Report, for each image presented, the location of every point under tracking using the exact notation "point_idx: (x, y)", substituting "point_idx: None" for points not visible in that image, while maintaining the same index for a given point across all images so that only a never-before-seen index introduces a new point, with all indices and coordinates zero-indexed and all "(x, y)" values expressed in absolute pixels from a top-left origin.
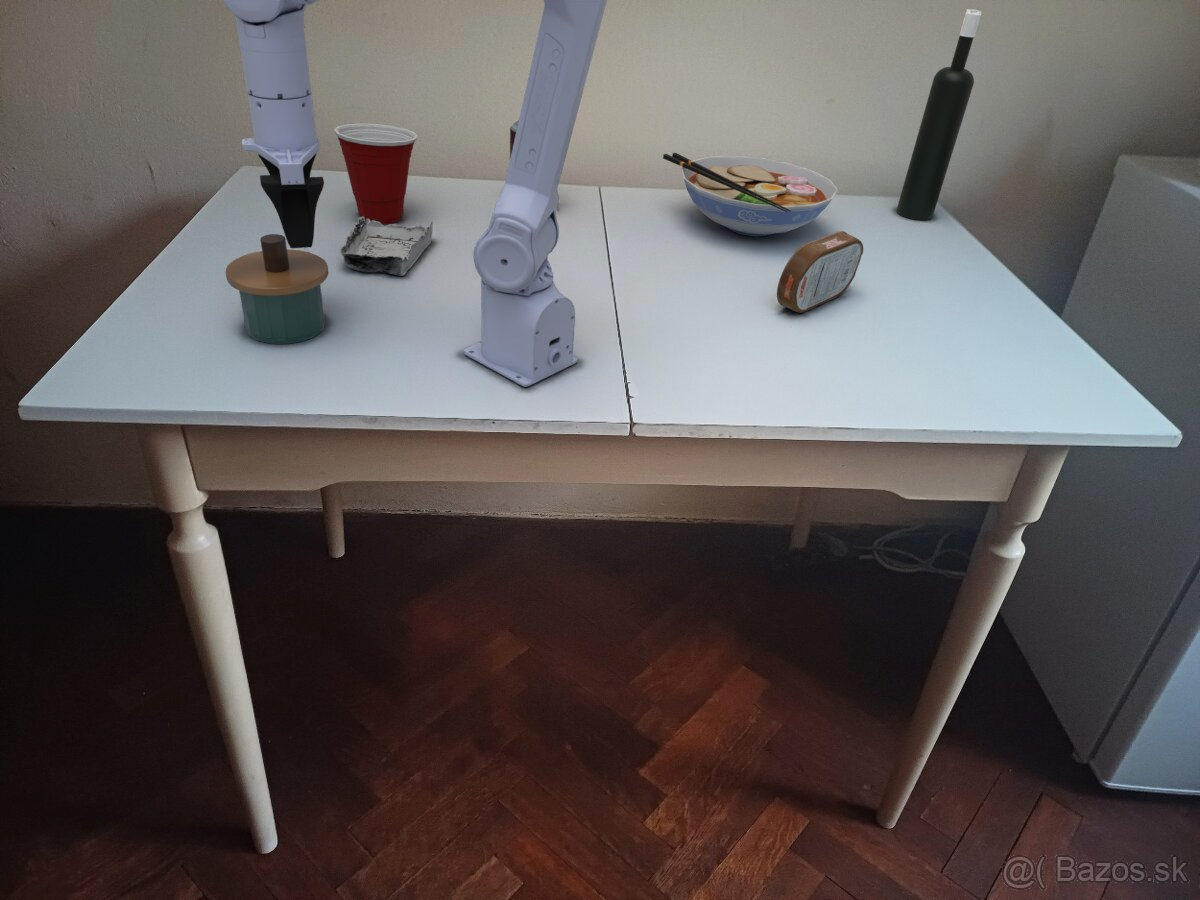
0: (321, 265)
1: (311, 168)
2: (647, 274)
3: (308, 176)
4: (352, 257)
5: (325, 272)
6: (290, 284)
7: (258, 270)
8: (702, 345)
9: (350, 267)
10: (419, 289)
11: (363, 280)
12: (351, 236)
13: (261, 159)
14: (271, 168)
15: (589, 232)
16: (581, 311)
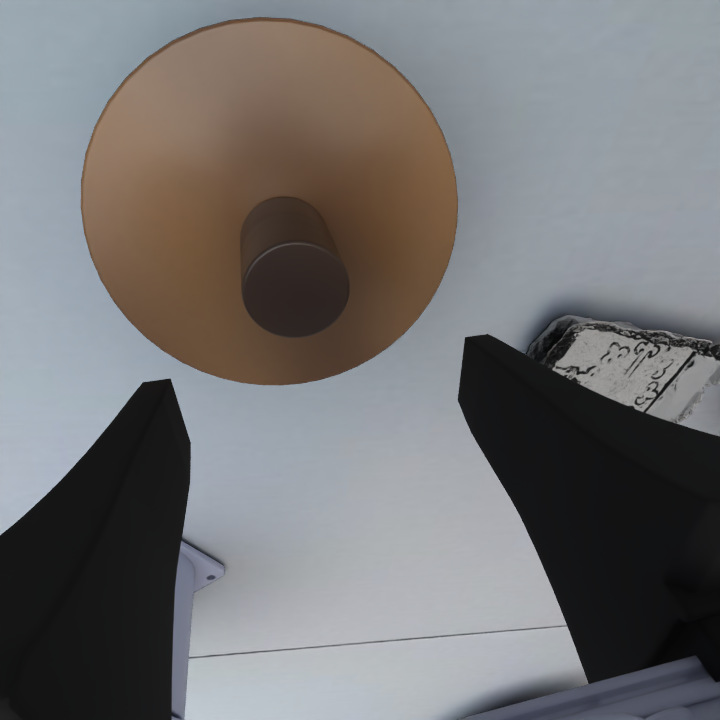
0: (296, 370)
1: (561, 608)
2: (401, 665)
3: (542, 561)
4: (553, 346)
5: (246, 382)
6: (130, 294)
7: (263, 171)
8: (185, 712)
9: (551, 322)
10: (422, 437)
11: None
12: (663, 341)
13: (685, 494)
14: (620, 482)
15: (555, 614)
16: (296, 621)
